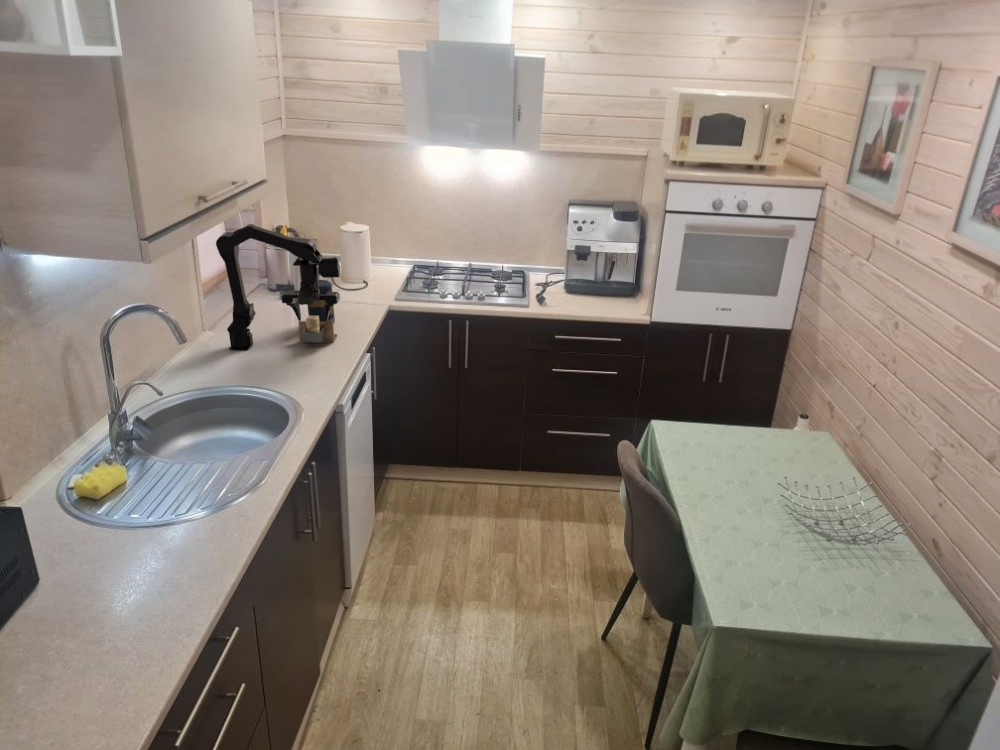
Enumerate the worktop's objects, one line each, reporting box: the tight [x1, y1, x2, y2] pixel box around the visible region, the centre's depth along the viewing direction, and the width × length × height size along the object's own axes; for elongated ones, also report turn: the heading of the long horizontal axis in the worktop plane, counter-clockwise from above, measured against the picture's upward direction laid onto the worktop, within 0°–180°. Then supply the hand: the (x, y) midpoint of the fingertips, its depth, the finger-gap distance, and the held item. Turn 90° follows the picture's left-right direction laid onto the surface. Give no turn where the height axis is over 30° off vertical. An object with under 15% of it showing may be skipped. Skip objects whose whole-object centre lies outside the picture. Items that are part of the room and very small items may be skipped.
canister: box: [307, 278, 336, 325], centre depth 263 cm, size 10×10×18 cm
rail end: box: [305, 316, 320, 332], centre depth 245 cm, size 4×4×7 cm
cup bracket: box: [298, 320, 338, 343], centre depth 249 cm, size 12×13×8 cm
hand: (313, 321), depth 244 cm, fingers open, 9 cm apart
